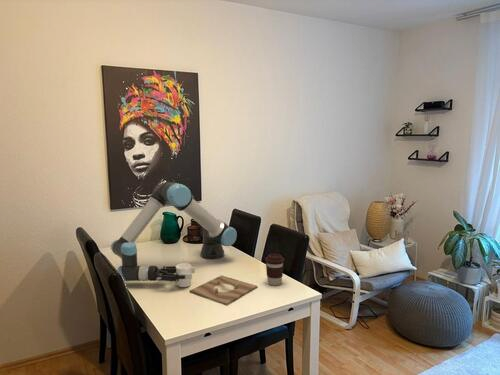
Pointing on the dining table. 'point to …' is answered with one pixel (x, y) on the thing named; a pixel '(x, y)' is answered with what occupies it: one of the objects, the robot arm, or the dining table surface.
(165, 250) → the dining table surface
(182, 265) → the white cup
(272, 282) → the coffee cup
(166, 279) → the robot arm
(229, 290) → the brown flat square piece
